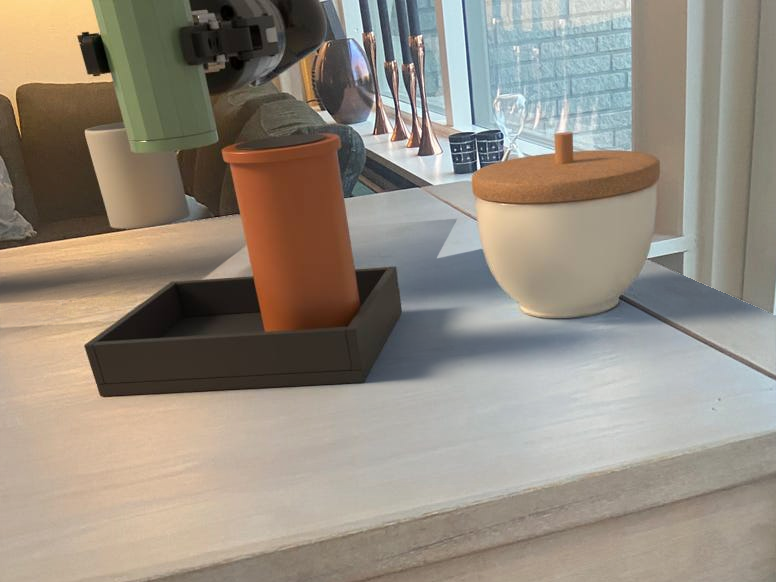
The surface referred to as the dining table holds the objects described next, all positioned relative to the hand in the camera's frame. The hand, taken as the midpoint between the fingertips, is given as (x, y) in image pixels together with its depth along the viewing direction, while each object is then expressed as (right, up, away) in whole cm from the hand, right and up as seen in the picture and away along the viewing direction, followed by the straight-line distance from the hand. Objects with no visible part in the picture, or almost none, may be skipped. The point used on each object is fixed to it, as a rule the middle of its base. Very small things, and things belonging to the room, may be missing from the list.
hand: (139, 51), depth 64 cm
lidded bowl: (+29, -15, +6) cm, 33 cm away
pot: (+12, -20, 0) cm, 23 cm away
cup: (+1, -4, +5) cm, 6 cm away
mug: (-13, +5, +42) cm, 45 cm away
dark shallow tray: (+8, -19, +2) cm, 21 cm away
